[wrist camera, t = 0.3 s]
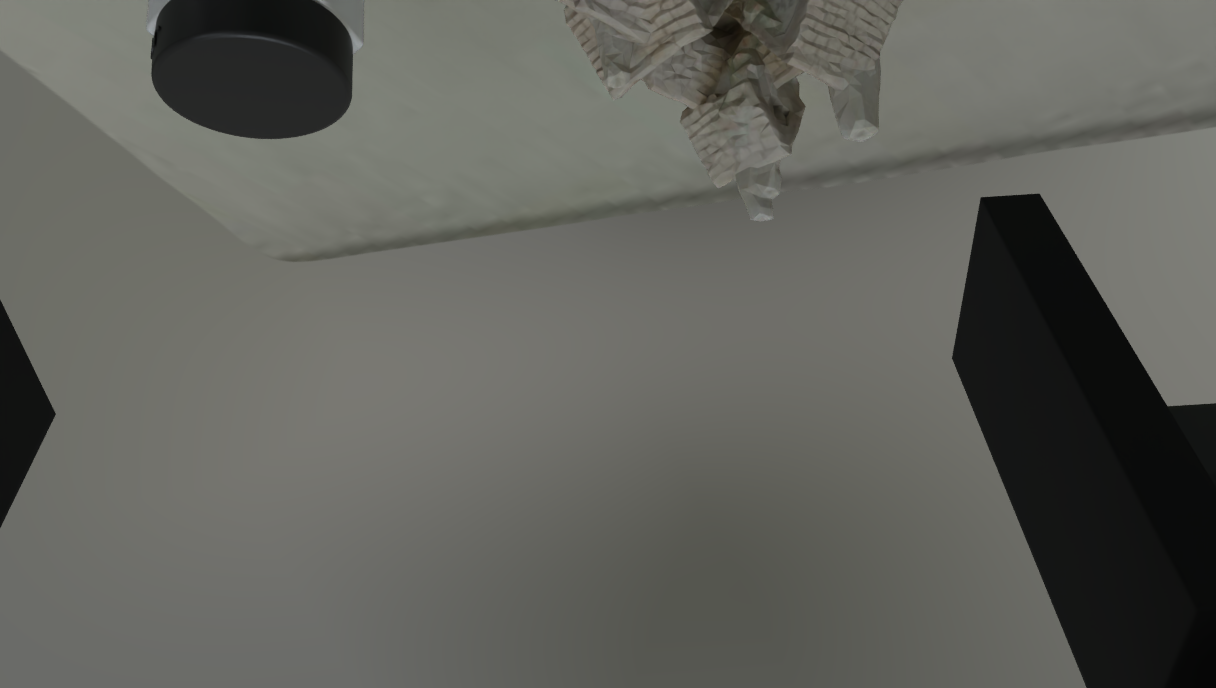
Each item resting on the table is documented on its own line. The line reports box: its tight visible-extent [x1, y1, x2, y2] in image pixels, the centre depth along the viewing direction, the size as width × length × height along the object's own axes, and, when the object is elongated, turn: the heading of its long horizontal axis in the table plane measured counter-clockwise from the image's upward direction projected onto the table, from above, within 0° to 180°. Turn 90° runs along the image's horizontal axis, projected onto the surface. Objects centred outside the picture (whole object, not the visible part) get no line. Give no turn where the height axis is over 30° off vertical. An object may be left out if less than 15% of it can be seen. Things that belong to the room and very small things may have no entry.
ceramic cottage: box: [556, 0, 903, 221], centre depth 55 cm, size 16×16×15 cm
